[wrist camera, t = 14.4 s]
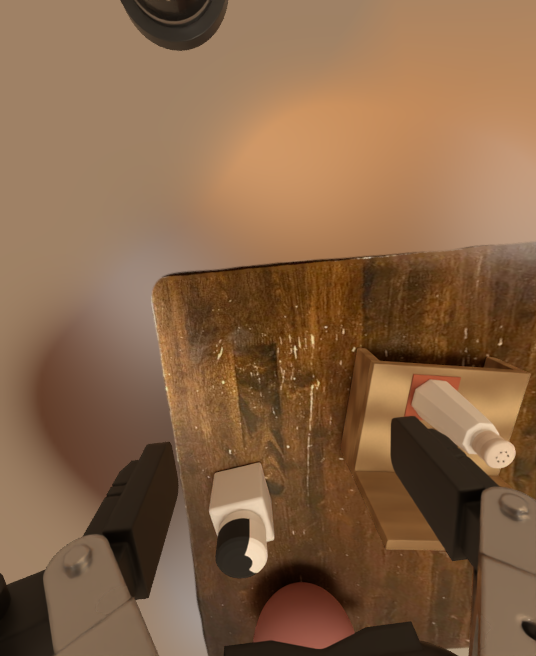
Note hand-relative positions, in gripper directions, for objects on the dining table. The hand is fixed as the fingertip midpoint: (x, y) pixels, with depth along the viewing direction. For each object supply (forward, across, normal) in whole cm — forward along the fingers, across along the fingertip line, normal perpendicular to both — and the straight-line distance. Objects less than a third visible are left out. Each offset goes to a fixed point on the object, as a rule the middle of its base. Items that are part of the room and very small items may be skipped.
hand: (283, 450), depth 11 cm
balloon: (+30, -4, +52) cm, 60 cm away
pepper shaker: (+24, -20, +13) cm, 34 cm away
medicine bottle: (+30, +5, +28) cm, 41 cm away
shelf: (+30, -21, +17) cm, 41 cm away
